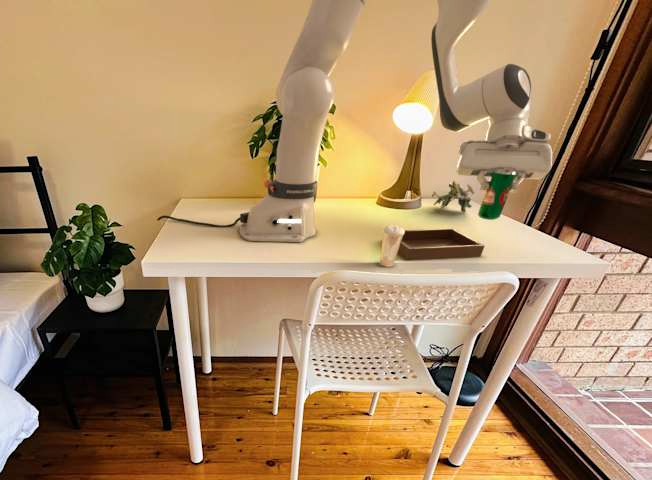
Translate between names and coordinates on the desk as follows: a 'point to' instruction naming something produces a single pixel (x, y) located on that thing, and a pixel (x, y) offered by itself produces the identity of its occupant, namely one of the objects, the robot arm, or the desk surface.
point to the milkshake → (390, 244)
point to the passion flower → (456, 196)
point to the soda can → (497, 193)
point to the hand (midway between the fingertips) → (498, 190)
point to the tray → (438, 245)
